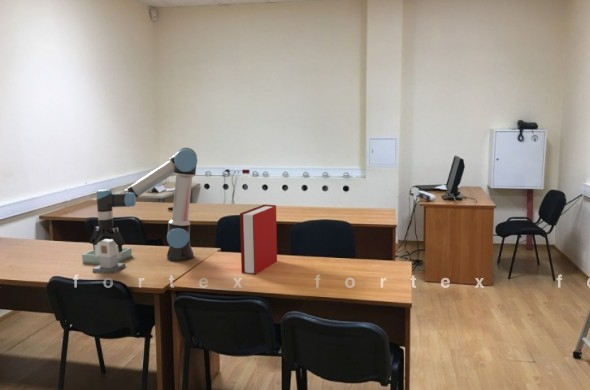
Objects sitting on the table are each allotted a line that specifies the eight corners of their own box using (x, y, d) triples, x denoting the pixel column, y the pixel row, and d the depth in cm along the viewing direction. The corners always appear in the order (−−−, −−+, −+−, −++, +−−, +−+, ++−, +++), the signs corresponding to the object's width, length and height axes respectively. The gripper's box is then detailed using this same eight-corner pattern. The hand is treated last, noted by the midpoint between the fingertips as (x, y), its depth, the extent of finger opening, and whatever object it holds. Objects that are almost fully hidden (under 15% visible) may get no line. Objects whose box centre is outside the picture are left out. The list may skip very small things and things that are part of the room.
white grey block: (117, 264, 272) (116, 239, 270) (110, 268, 266) (108, 242, 263) (107, 263, 274) (105, 238, 271) (99, 267, 267) (97, 242, 265)
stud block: (125, 266, 274) (124, 253, 273) (112, 273, 263) (111, 259, 262) (106, 265, 277) (105, 252, 276) (92, 272, 266) (91, 258, 265)
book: (255, 275, 258) (253, 214, 253) (241, 273, 261) (239, 213, 256) (278, 260, 282) (277, 205, 277) (265, 259, 286) (264, 204, 281)
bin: (131, 256, 295) (131, 248, 294) (113, 265, 277) (113, 256, 276) (102, 254, 299) (101, 246, 299) (82, 263, 282) (82, 254, 281)
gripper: (130, 218, 266) (132, 256, 270) (89, 216, 272) (92, 253, 276) (122, 220, 259) (124, 260, 262) (80, 218, 265) (83, 257, 268)
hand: (108, 257), depth 269 cm, fingers open, 13 cm apart
